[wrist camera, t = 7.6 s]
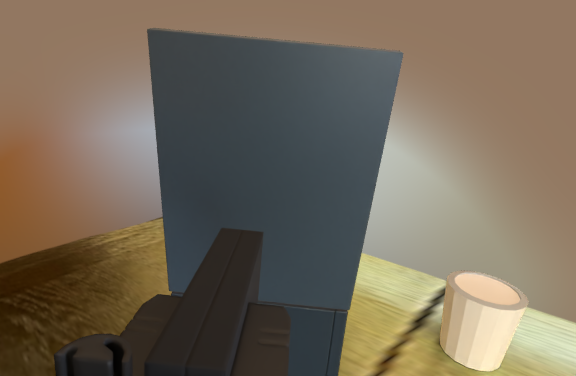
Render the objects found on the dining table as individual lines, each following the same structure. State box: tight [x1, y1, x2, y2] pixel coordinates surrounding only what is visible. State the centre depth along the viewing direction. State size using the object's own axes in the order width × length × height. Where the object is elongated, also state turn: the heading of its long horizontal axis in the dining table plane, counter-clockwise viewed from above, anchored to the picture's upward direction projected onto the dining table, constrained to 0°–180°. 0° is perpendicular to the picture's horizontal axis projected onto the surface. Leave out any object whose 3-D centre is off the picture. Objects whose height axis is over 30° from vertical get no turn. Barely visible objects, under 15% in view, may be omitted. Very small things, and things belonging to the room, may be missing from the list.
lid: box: [147, 28, 403, 310], centre depth 20 cm, size 16×12×1 cm
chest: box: [171, 291, 348, 376], centre depth 32 cm, size 15×12×10 cm
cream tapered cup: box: [440, 271, 529, 371], centre depth 35 cm, size 7×7×7 cm
